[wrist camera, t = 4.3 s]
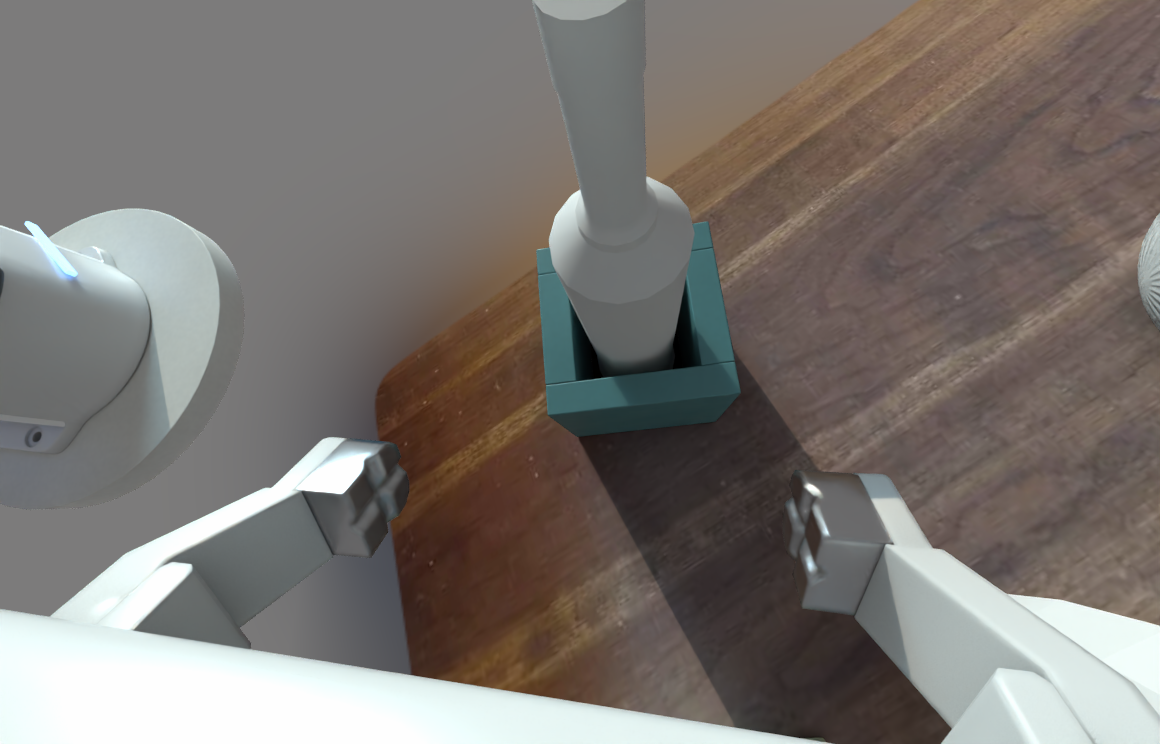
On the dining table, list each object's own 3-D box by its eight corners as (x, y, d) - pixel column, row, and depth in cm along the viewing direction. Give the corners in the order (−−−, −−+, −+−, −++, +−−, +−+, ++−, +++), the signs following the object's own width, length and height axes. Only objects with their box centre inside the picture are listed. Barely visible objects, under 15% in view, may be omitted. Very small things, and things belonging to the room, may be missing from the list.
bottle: (615, 410, 31) (492, 143, 7) (589, 344, 33) (417, -54, 9) (686, 382, 31) (796, 11, 7) (656, 317, 32) (665, -168, 9)
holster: (576, 437, 31) (547, 415, 23) (565, 311, 34) (536, 249, 25) (716, 421, 30) (741, 393, 21) (693, 292, 32) (708, 220, 24)
